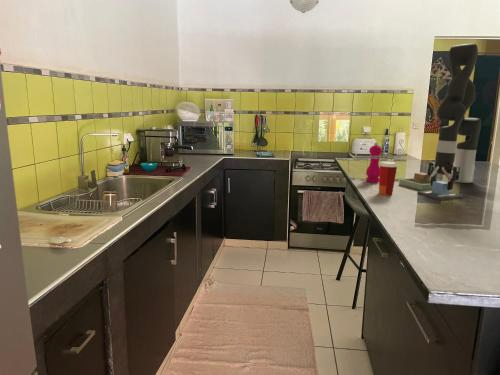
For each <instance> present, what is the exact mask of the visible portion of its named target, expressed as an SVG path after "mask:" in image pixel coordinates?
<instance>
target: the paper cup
mask: <svg viewBox="0 0 500 375" xmlns="http://www.w3.org/2000/svg"><path fill="white" fill-rule="evenodd" d="M379 167H380V175H379V177H378V178H379V182H378V194H379V195H382V196H392V195H393V191H394V186H395V181H396V180H395V179H396V174H397V169H398V164H397V162H393V161H380V162H379Z"/></svg>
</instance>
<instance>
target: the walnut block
mask: <svg viewBox="0 0 500 375" xmlns="http://www.w3.org/2000/svg"><path fill="white" fill-rule="evenodd" d="M413 178H414V182H415V183H419V184H429V182H430V180H431V177H430V176H429V175H427V173H425V172H414V175H413Z"/></svg>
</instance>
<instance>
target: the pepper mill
mask: <svg viewBox="0 0 500 375" xmlns="http://www.w3.org/2000/svg"><path fill="white" fill-rule="evenodd" d="M368 152H369V154H370V155H369V159H370V163H369V165H368V167H367V168H366V170H365V171H366V172H365V174H366V176H367V177H366V180H365V181H366V182H367V181H368V182H367V183H372V182H378V183H379V175H380V165H379V164H380V162H379V161H380V159H381V155H382V153H383V150H382V147H381V146H379V143H378V142H375V143H374V145H372V146H370V148H369V150H368Z"/></svg>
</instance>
